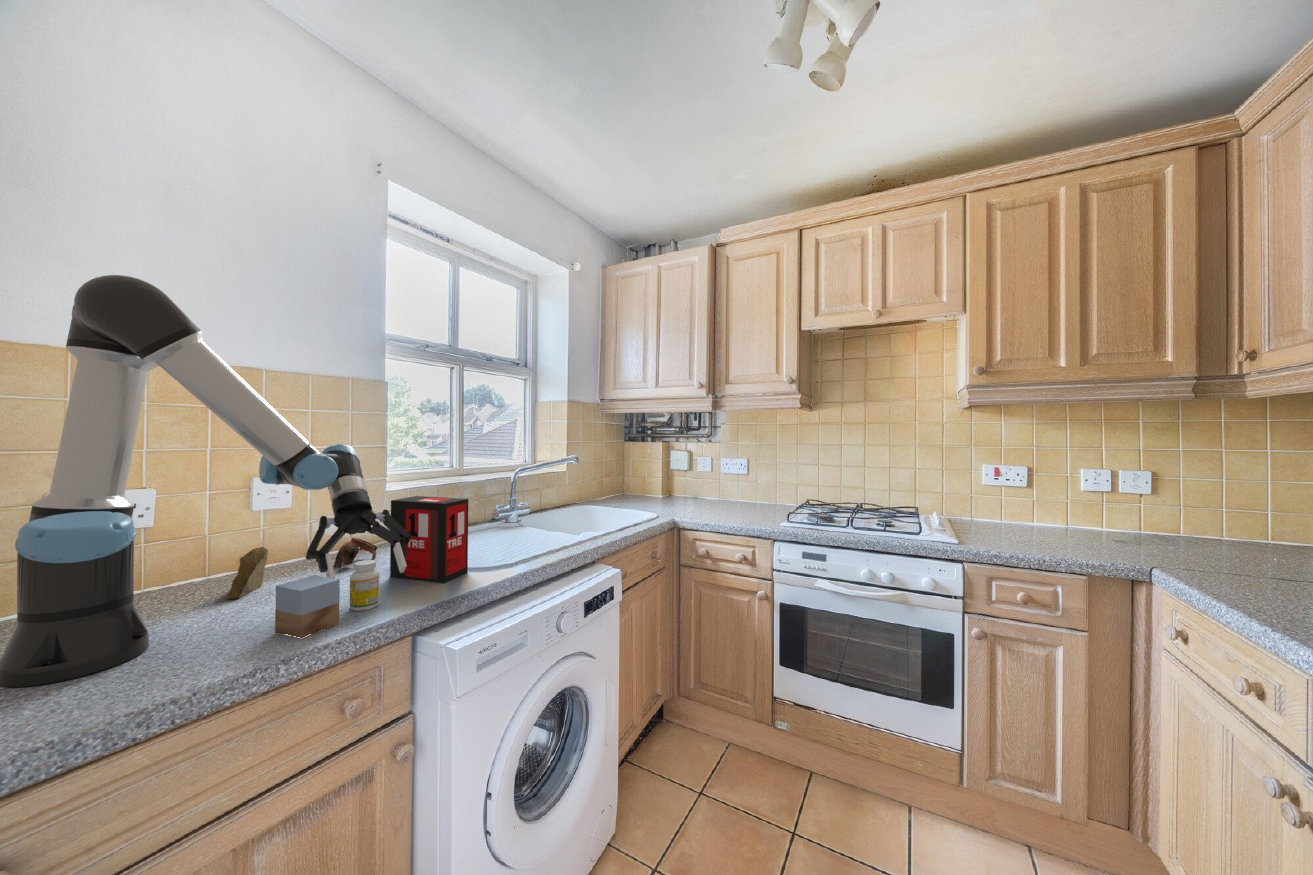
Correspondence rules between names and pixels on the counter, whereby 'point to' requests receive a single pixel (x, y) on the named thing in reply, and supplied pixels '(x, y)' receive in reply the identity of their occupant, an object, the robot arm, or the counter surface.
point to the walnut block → (306, 621)
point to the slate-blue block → (307, 594)
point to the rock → (249, 573)
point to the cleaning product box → (432, 538)
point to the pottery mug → (353, 551)
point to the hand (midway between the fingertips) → (369, 576)
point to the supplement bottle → (364, 586)
